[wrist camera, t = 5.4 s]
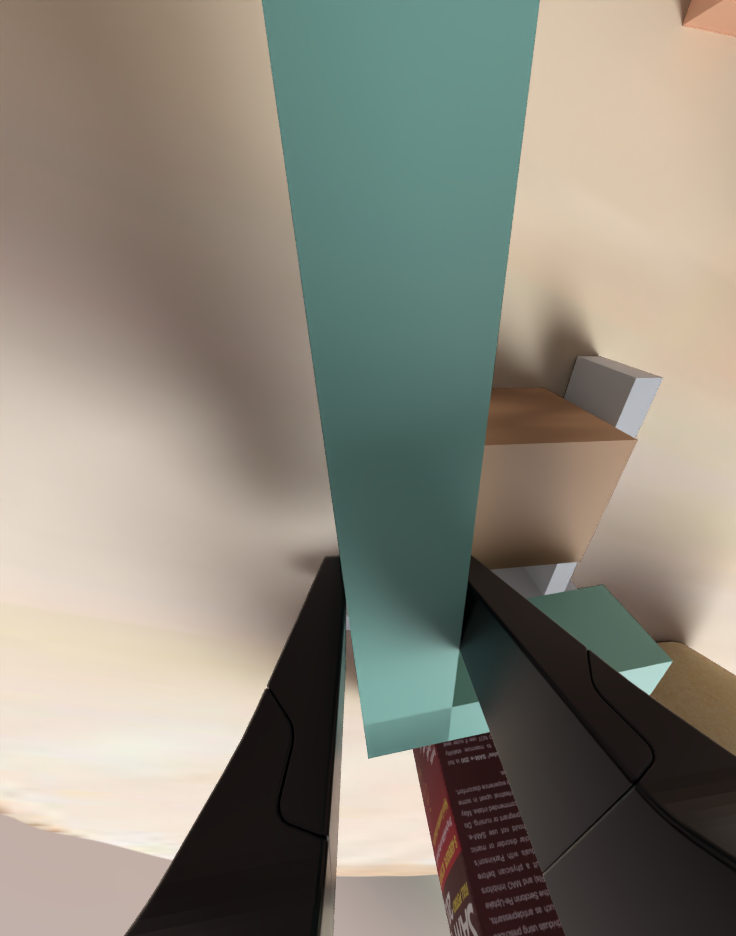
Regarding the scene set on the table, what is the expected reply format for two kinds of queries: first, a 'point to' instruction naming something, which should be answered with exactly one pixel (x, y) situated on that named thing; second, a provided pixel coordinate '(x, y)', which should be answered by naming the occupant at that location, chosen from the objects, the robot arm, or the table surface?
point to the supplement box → (482, 843)
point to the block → (543, 479)
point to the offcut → (712, 16)
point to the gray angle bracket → (612, 400)
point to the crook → (413, 326)
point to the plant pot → (699, 693)
